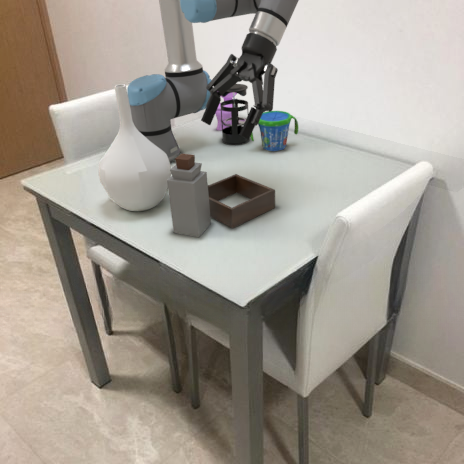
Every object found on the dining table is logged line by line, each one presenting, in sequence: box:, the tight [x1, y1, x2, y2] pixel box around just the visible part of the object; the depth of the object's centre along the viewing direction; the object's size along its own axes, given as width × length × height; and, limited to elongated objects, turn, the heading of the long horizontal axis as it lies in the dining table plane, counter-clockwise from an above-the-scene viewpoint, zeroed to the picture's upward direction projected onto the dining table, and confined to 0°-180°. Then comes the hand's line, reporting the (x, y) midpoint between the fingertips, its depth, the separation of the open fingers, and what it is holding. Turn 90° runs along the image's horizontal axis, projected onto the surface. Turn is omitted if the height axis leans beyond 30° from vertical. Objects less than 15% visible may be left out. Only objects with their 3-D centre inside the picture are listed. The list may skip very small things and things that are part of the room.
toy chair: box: [215, 92, 238, 131], centre depth 176 cm, size 8×9×15 cm
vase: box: [98, 83, 172, 212], centre depth 125 cm, size 18×18×30 cm
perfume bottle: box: [167, 152, 212, 238], centre depth 117 cm, size 7×7×18 cm
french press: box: [220, 83, 251, 146], centre depth 162 cm, size 12×9×23 cm
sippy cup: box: [250, 110, 299, 152], centre depth 159 cm, size 16×10×10 cm
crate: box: [208, 173, 276, 229], centre depth 128 cm, size 15×15×5 cm
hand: (224, 130), depth 118 cm, fingers open, 13 cm apart
